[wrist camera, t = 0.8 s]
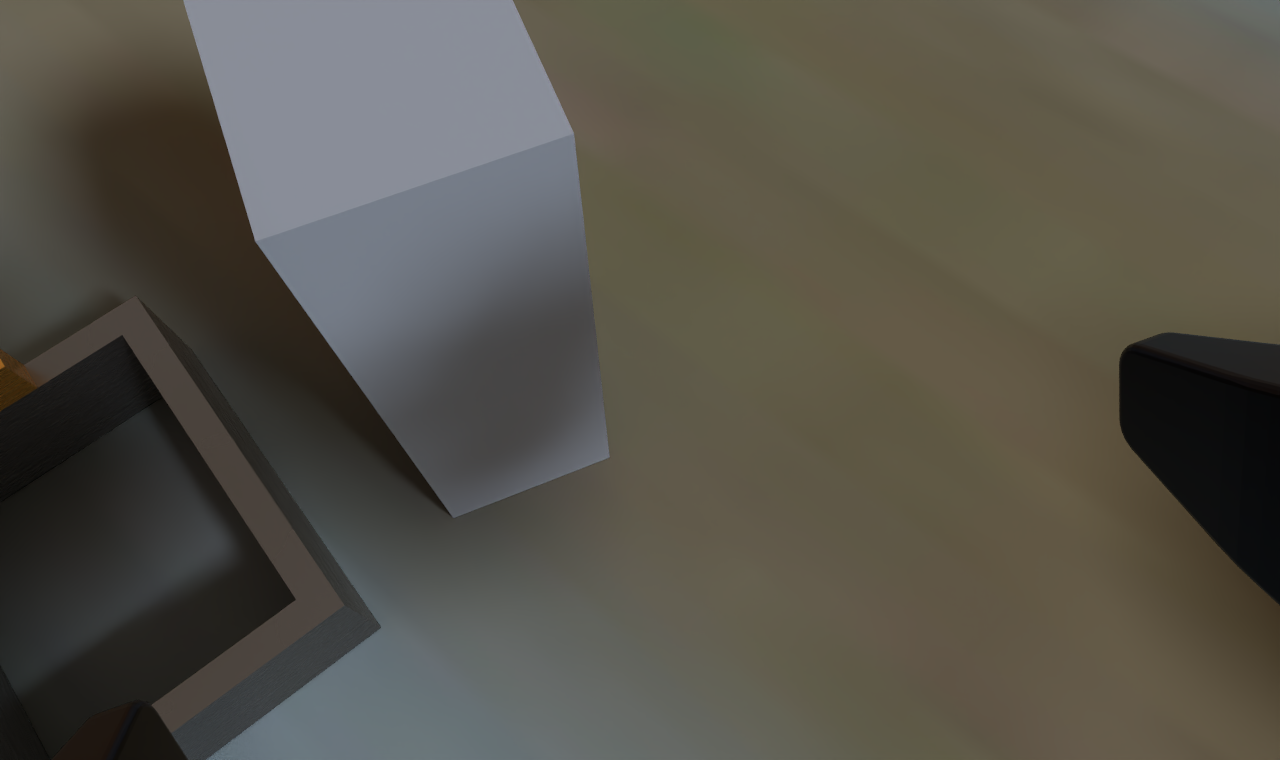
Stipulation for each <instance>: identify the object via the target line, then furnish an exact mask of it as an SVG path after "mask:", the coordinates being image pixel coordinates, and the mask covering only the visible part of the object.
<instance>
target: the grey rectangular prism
mask: <svg viewBox="0 0 1280 760" xmlns="http://www.w3.org/2000/svg"><path fill="white" fill-rule="evenodd" d="M183 1H184V4H185V7H186V11H187V14H188V17H189V21H190V24H191V27H192V31H193V34H194V38H195V41H196V44H197V48H198V51H199V54H200V58H201V61H202V64H203V68H204V71H205V74H206V78H207V81H208V84H209V88H210V91H211V94H212V98H213V101H214V104H215V108H216V111H217V115H218V118H219V121H220V125H221V128H222V131H223V135H224V138H225V141H226V145H227V148H228V151H229V155H230V158H231V161H232V165H233V168H234V171H235V175H236V178H237V182H238V185H239V188H240V192H241V195H242V198H243V202H244V205H245V208H246V212H247V215H248V218H249V222H250V225H251V228H252V232H253V235H254V238H255V242H256V243H257V244H258V246H259V247H260V249H261V250H262V251H263V253H264V254H265V256H266V257H267V258H268V260H269V261H270V263H271V264H272V265H273V267H274V268H275V270H276V271H277V272H278V274H279V275H280V277H281V278H282V279H283V281H284V282H285V284H286V285H287V286H288V288H289V289H290V291H291V292H292V293H293V295H294V296H295V298H296V299H297V300H298V302H299V303H300V305H301V306H302V307H303V309H304V310H305V312H306V313H307V314H308V316H309V317H310V318H311V320H312V321H313V323H314V324H315V325H316V327H317V328H318V330H319V331H320V332H321V334H322V335H323V337H324V338H325V339H326V341H327V342H328V344H329V345H330V346H331V348H332V349H333V351H334V352H335V353H336V355H337V356H338V358H339V359H340V360H341V362H342V363H343V365H344V366H345V367H346V369H347V370H348V372H349V373H350V374H351V376H352V377H353V379H354V380H355V381H356V383H357V384H358V386H359V387H360V388H361V390H362V391H363V393H364V394H365V395H366V397H367V398H368V400H369V401H370V402H371V404H372V405H373V407H374V408H375V409H376V411H377V412H378V414H379V415H380V416H381V418H382V419H383V420H384V422H385V423H386V425H387V426H388V427H389V429H390V430H391V432H392V433H393V434H394V436H395V437H396V439H397V440H398V441H399V443H400V444H401V446H402V447H403V448H404V450H405V451H406V453H407V454H408V455H409V457H410V458H411V460H412V461H413V462H414V464H415V465H416V467H417V468H418V469H419V471H420V472H421V474H422V475H423V476H424V478H425V479H426V481H427V482H428V483H429V485H430V486H431V488H432V489H433V490H434V492H435V493H436V495H437V496H438V497H439V499H440V500H441V502H442V503H443V504H444V506H445V507H446V509H447V510H448V511H449V513H450V514H451V516H452V517H453V518H455V517H458V516H461V515H463V514H466V513H468V512H471V511H473V510H476V509H479V508H481V507H484V506H486V505H489V504H491V503H494V502H497V501H499V500H502V499H504V498H507V497H509V496H512V495H515V494H517V493H520V492H522V491H525V490H527V489H530V488H533V487H535V486H538V485H540V484H543V483H545V482H548V481H551V480H553V479H556V478H558V477H561V476H563V475H566V474H569V473H571V472H574V471H576V470H579V469H581V468H584V467H587V466H589V465H592V464H594V463H597V462H599V461H602V460H605V459H607V458H610V457H609V448H608V439H607V430H606V421H605V412H604V403H603V393H602V384H601V375H600V366H599V357H598V348H597V339H596V330H595V321H594V312H593V303H592V294H591V284H590V275H589V266H588V257H587V248H586V239H585V230H584V221H583V212H582V203H581V194H580V184H579V175H578V166H577V157H576V148H575V139H574V133H573V131H572V128H571V126H570V124H569V122H568V120H567V118H566V115H565V113H564V111H563V109H562V107H561V104H560V102H559V100H558V98H557V96H556V94H555V91H554V89H553V87H552V85H551V83H550V81H549V78H548V76H547V74H546V72H545V70H544V68H543V65H542V63H541V61H540V59H539V57H538V54H537V52H536V50H535V48H534V46H533V44H532V41H531V39H530V37H529V35H528V33H527V31H526V28H525V26H524V24H523V22H522V20H521V18H520V15H519V13H518V11H517V9H516V7H515V5H514V2H513V0H183Z"/></svg>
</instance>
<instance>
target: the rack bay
mask: <svg viewBox="0 0 1280 760" xmlns="http://www.w3.org/2000/svg"><path fill="white" fill-rule="evenodd" d="M161 397H163V398H164V399H165V401H166V402H167V404H168V405H169V407H170V408H171V410H172V411H173V413H174V414H175V416H176V417H177V419H178V421H179V422H180V424H181V425H182V427H183V428H184V430H185V431H186V433H187V434H188V436H189V437H190V439H191V440H192V442H193V443H194V445H195V446H196V448H197V449H198V451H199V452H200V454H201V456H202V457H203V459H204V460H205V462H206V463H207V465H208V466H209V468H210V469H211V471H212V472H213V474H214V475H215V477H216V478H217V480H218V481H219V483H220V484H221V486H222V488H223V489H224V491H225V492H226V494H227V495H228V497H229V498H230V500H231V501H232V503H233V504H234V506H235V507H236V509H237V510H238V512H239V513H240V515H241V516H242V518H243V519H244V521H245V523H246V524H247V526H248V527H249V529H250V530H251V532H252V533H253V535H254V536H255V538H256V539H257V541H258V542H259V544H260V545H261V547H262V548H263V550H264V551H265V553H266V555H267V556H268V558H269V559H270V561H271V562H272V564H273V565H274V567H275V568H276V570H277V571H278V573H279V574H280V576H281V577H282V579H283V580H284V582H285V583H286V585H287V586H288V588H289V590H290V591H291V593H292V594H293V596H294V597H295V599H296V600H295V601H294V602H292V603H291V604H289V605H288V606H287V607H285V608H284V609H283V610H281V611H280V612H278V613H277V614H276V615H274V616H273V617H272V618H270V619H269V620H267V621H266V622H265V623H263V624H262V625H261V626H259V627H258V628H256V629H255V630H254V631H252V632H251V633H250V634H248V635H247V636H246V637H244V638H243V639H241V640H240V641H239V642H237V643H236V644H235V645H233V646H232V647H230V648H229V649H228V650H226V651H225V652H224V653H222V654H221V655H219V656H218V657H217V658H215V659H214V660H213V661H211V662H210V663H208V664H207V665H206V666H204V667H203V668H202V669H200V670H199V671H197V672H196V673H195V674H193V675H192V676H191V677H189V678H188V679H186V680H185V681H184V682H182V683H181V684H180V685H178V686H177V687H175V688H174V689H173V690H171V691H170V692H169V693H167V694H166V695H164V696H163V697H162V698H160V699H159V700H158V701H156V702H155V703H153V704H152V706H153V707H154V708H155V710H156V711H157V712H158V714H159V715H160V717H161V718H162V720H163V721H164V723H165V725H166V726H167V728H168V729H169V731H170V732H171V734H172V735H173V737H174V738H175V740H176V742H177V743H178V745H179V746H180V748H181V749H182V751H183V752H184V754H185V755H186V757H187V758H188V760H206V759H207V758H208V757H210V756H211V755H212V754H214V753H215V752H216V751H218V750H219V749H220V748H222V747H223V746H224V745H226V744H227V743H228V742H230V741H231V740H232V739H234V738H235V737H236V736H238V735H239V734H240V733H242V732H243V731H244V730H246V729H247V728H248V727H250V726H251V725H252V724H254V723H255V722H256V721H258V720H259V719H260V718H262V717H263V716H264V715H266V714H267V713H268V712H270V711H271V710H272V709H273V708H275V707H276V706H277V705H279V704H280V703H281V702H283V701H284V700H285V699H287V698H288V697H289V696H291V695H292V694H293V693H295V692H296V691H297V690H299V689H300V688H301V687H303V686H304V685H305V684H307V683H308V682H309V681H311V680H312V679H313V678H315V677H316V676H317V675H319V674H320V673H321V672H323V671H324V670H325V669H327V668H328V667H329V666H331V665H332V664H333V663H335V662H336V661H337V660H339V659H340V658H341V657H343V656H344V655H345V654H347V653H348V652H349V651H351V650H352V649H353V648H355V647H356V646H357V645H358V644H360V643H361V642H362V641H364V640H365V639H366V638H368V637H369V636H370V635H372V634H373V633H374V632H376V631H377V630H378V629H380V628H381V627H380V625H379V624H378V622H377V621H376V619H375V618H374V616H373V615H372V613H371V612H370V610H369V609H368V607H367V606H366V605H365V603H364V602H363V600H362V599H361V597H360V596H359V594H358V593H357V591H356V590H355V588H354V587H353V585H352V584H351V583H350V581H349V580H348V578H347V577H346V575H345V574H344V572H343V571H342V569H341V568H340V566H339V565H338V563H337V562H336V561H335V559H334V558H333V556H332V555H331V553H330V552H329V550H328V549H327V547H326V546H325V544H324V543H323V541H322V540H321V539H320V537H319V536H318V534H317V533H316V531H315V530H314V528H313V527H312V525H311V524H310V522H309V521H308V519H307V518H306V517H305V515H304V514H303V512H302V511H301V509H300V508H299V506H298V505H297V503H296V502H295V500H294V499H293V497H292V496H291V495H290V493H289V492H288V490H287V489H286V487H285V486H284V484H283V483H282V481H281V480H280V478H279V477H278V475H277V474H276V473H275V471H274V470H273V468H272V467H271V465H270V464H269V462H268V461H267V459H266V458H265V456H264V455H263V453H262V452H261V451H260V449H259V448H258V446H257V445H256V443H255V442H254V440H253V439H252V437H251V436H250V434H249V433H248V431H247V430H246V429H245V427H244V426H243V424H242V423H241V421H240V420H239V418H238V417H237V415H236V414H235V412H234V411H233V410H232V408H231V407H230V405H229V404H228V402H227V401H226V399H225V398H224V396H223V395H222V393H221V392H220V390H219V389H218V388H217V386H216V385H215V383H214V382H213V380H212V379H211V377H210V376H209V374H208V373H207V371H206V370H205V368H204V367H203V366H202V364H201V363H200V361H199V360H198V358H197V357H196V355H195V354H194V352H193V351H192V349H191V348H190V347H189V346H188V345H186V344H185V343H184V342H183V341H182V340H181V339H180V338H179V337H178V336H177V335H176V334H175V333H174V332H173V331H172V330H171V329H170V328H169V327H168V326H167V325H166V324H165V323H164V322H163V321H162V320H161V319H160V318H158V317H157V316H156V315H155V314H154V313H153V312H152V311H151V310H150V309H149V308H148V307H147V306H146V305H145V304H144V303H143V302H142V301H141V300H140V299H139V298H138V297H137V296H134V297H133V298H131V299H129V300H128V301H126V302H124V303H123V304H121V305H120V306H118V307H116V308H115V309H113V310H112V311H110V312H108V313H107V314H105V315H103V316H102V317H100V318H99V319H97V320H95V321H94V322H92V323H91V324H89V325H87V326H86V327H84V328H82V329H81V330H79V331H78V332H76V333H74V334H73V335H71V336H70V337H68V338H66V339H65V340H63V341H61V342H60V343H58V344H57V345H55V346H53V347H52V348H50V349H49V350H47V351H45V352H44V353H42V354H40V355H39V356H37V357H36V358H34V359H32V360H31V361H29V362H28V363H26V364H24V365H23V364H22V363H20V362H19V361H17V360H16V359H14V358H13V357H11V356H10V355H8V354H7V353H5V352H4V351H2V350H1V349H0V502H1V501H3V500H4V499H6V498H7V497H9V496H10V495H12V494H13V493H15V492H16V491H18V490H19V489H21V488H23V487H24V486H26V485H27V484H29V483H30V482H32V481H33V480H35V479H36V478H38V477H39V476H41V475H43V474H44V473H46V472H47V471H49V470H50V469H52V468H53V467H55V466H56V465H58V464H59V463H61V462H63V461H64V460H66V459H67V458H69V457H70V456H72V455H73V454H75V453H76V452H78V451H79V450H81V449H83V448H84V447H86V446H87V445H89V444H90V443H92V442H93V441H95V440H96V439H98V438H100V437H101V436H103V435H104V434H106V433H107V432H109V431H110V430H112V429H113V428H115V427H116V426H118V425H120V424H121V423H123V422H124V421H126V420H127V419H129V418H130V417H132V416H133V415H135V414H136V413H138V412H140V411H141V410H143V409H144V408H146V407H147V406H149V405H150V404H152V403H153V402H155V401H156V400H158V399H160V398H161ZM0 760H50V759H49V757H48V755H47V753H46V751H45V749H44V748H43V746H42V744H41V742H40V740H39V738H38V736H37V734H36V732H35V731H34V729H33V727H32V725H31V723H30V721H29V719H28V717H27V716H26V714H25V712H24V710H23V708H22V706H21V704H20V702H19V700H18V699H17V697H16V695H15V693H14V691H13V689H12V687H11V685H10V683H9V682H8V680H7V678H6V676H5V674H4V672H3V670H2V668H1V667H0Z"/></svg>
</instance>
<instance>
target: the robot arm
mask: <svg viewBox="0 0 1280 760" xmlns="http://www.w3.org/2000/svg"><path fill="white" fill-rule="evenodd" d="M1119 414H1120V426H1121V430H1122V433H1123V435H1124V438H1125V440H1126V441H1127V443H1128V445H1129V446H1130V447H1131V449H1132V450H1133V451H1134V452H1135V453H1136V454H1137V455H1138V457H1139V458H1140V459H1141V460H1142V461H1143V462H1144V463H1145V464H1146V466H1147V467H1148V468H1149V469H1150V470H1151V471H1152V472H1153V473H1154V474H1155V476H1156V477H1157V478H1158V479H1159V480H1160V481H1161V482H1162V483H1163V485H1164V486H1165V487H1166V488H1167V489H1168V490H1169V491H1170V492H1171V493H1172V495H1173V496H1174V497H1175V498H1176V499H1177V500H1178V501H1179V502H1180V504H1181V505H1182V506H1183V507H1184V508H1185V509H1186V510H1187V511H1188V512H1189V514H1190V515H1191V516H1192V517H1193V518H1194V519H1195V520H1196V521H1197V523H1198V524H1199V525H1200V526H1201V527H1202V528H1203V529H1204V530H1205V531H1206V533H1207V534H1208V535H1209V536H1210V537H1211V538H1212V539H1213V540H1214V542H1215V543H1216V544H1217V545H1218V546H1219V547H1220V548H1221V549H1222V550H1223V551H1224V552H1225V553H1226V554H1227V555H1228V556H1229V558H1230V559H1231V560H1232V561H1233V562H1234V563H1235V564H1236V565H1237V566H1238V567H1239V568H1240V569H1241V570H1242V571H1243V572H1244V573H1245V574H1247V575H1248V576H1249V577H1250V578H1251V579H1252V580H1253V581H1254V582H1255V583H1256V584H1257V585H1258V586H1259V587H1260V588H1261V589H1262V590H1263V591H1265V592H1266V593H1267V594H1268V595H1269V596H1270V597H1271V598H1272V599H1273V600H1274V601H1276V602H1277V603H1278V604H1279V605H1280V345H1277V344H1268V343H1259V342H1250V341H1241V340H1233V339H1224V338H1215V337H1206V336H1198V335H1189V334H1180V333H1161V334H1158V335H1155V336H1153V337H1150V338H1147V339H1144V340H1141V341H1139V342H1136V343H1133V344H1130V345H1129V346H1127V347H1126V348H1125V349H1124V350H1123V352H1122V354H1121V357H1120V362H1119ZM51 760H188V758H187V757H186V755H185V754H184V752H183V751H182V749H181V748H180V746H179V745H178V743H177V742H176V740H175V738H174V737H173V735H172V734H171V732H170V731H169V729H168V728H167V726H166V725H165V723H164V721H163V720H162V718H161V717H160V715H159V714H158V712H157V711H156V710H155V708H154V707H153V706H152V705H150V704H149V703H148V702H145V701H141V700H135V701H132V702H129V703H126V704H124V705H121V706H118V707H115V708H112V709H109V710H107V711H104V712H101V713H98V714H96V715H94V716H92V717H91V718H89V719H88V720H87V721H86V722H85V723H84V724H83V725H82V726H81V727H80V729H79V730H78V731H77V732H76V733H75V734H74V735H73V736H72V737H71V738H70V740H69V741H68V742H67V743H66V744H65V745H64V746H63V747H62V748H61V750H60V751H59V752H58V753H57V754H56V755H55V756H54V757H53V758H52V759H51Z"/></svg>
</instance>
